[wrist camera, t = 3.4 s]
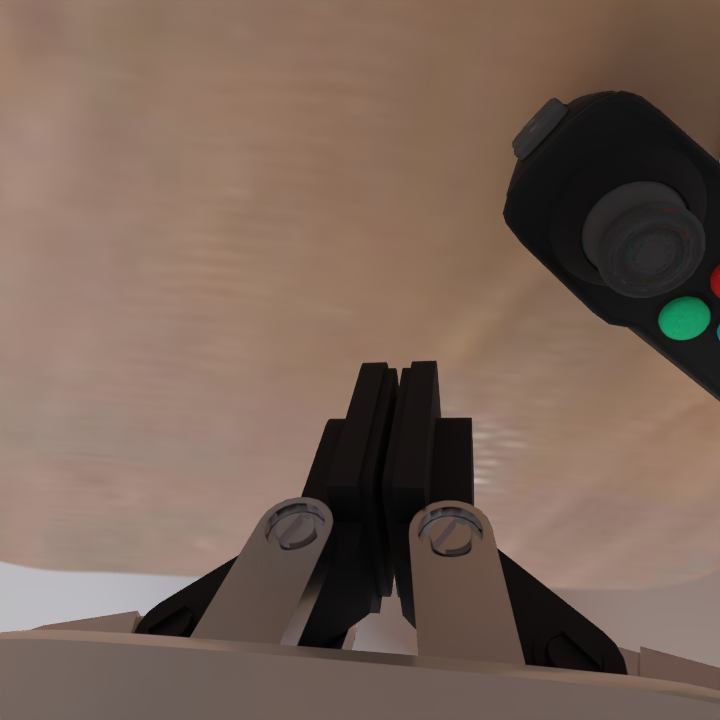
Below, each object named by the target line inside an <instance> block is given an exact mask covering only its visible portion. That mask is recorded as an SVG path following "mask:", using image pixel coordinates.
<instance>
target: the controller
mask: <svg viewBox="0 0 720 720" xmlns="http://www.w3.org/2000/svg"><path fill="white" fill-rule="evenodd" d="M512 146H513V148H514V155H515V156H516V157H517V158H518V161H517V163H516V166H515V169H514V172H513V175H512V178H511V182H510V185H509V188H508V192H507V200H506V203H505V207H504V211H503V215H504V219H505V222H506V224H507V225H508V226H509V228H510V229H511V230H512V232H513V233H514V234H515V235H516V237H517V238H518V239H519V241H520V242H521V243H522V244H523V245H524V246H525V247H526V248H527V249H528V250H529V251H530V252H531V253H532V254H533V255H534V256H535V257H536V258H537V259H538V260H539V261H540V262H541V263H542V264H543V265H544V266H545V267H546V268H547V269H548V270H550V271H551V272H552V273H553V274H554V275H555V276H556V277H557V278H558V279H559V280H560V281H561V282H562V283H563V284H564V285H565V286H566V287H567V288H568V289H569V290H570V291H571V292H572V293H573V294H574V295H575V296H576V297H578V298H579V299H580V300H581V301H582V302H583V303H584V304H585V305H586V306H587V307H588V308H589V309H590V310H591V311H592V312H593V313H594V314H596V315H597V316H599V317H600V318H601V319H603V320H604V321H606V322H607V323H608V324H611V325H617V326H623V327H628V328H629V329H630V330H631V331H633V332H634V333H635V334H636V335H638V336H639V337H640V338H641V339H643V340H644V341H645V342H646V343H648V344H649V345H650V346H651V347H653V348H654V349H655V350H656V351H658V352H659V353H660V354H661V355H663V356H664V357H665V358H666V359H668V360H669V361H670V362H671V363H673V364H674V365H675V366H676V367H678V368H679V369H680V370H681V371H683V372H684V373H685V374H686V375H688V376H689V377H690V378H691V379H692V380H694V381H695V382H696V383H697V384H699V385H700V386H701V387H702V388H704V389H705V390H706V391H707V392H709V393H710V394H711V395H712V396H714V397H715V398H716V399H717V400H719V401H720V163H719V162H718V161H716V160H715V159H714V158H713V157H712V156H711V155H710V154H709V153H707V152H706V151H705V150H704V149H703V148H702V147H701V146H699V145H698V144H697V143H696V142H695V141H694V140H693V139H692V138H690V137H689V136H688V135H687V134H686V133H685V132H684V131H683V130H681V129H680V128H679V127H678V126H677V125H676V124H675V123H673V122H672V121H671V120H670V119H669V118H668V117H667V116H666V115H664V114H663V113H662V112H661V111H660V110H659V109H657V108H656V107H655V106H653V105H652V104H651V103H649V102H648V101H647V100H645V99H644V98H643V97H641V96H638V95H636V94H633V93H629V92H625V91H619V92H614V91H606V92H599V93H595V94H590V95H585V96H582V97H579V98H577V99H575V100H573V101H572V102H570V103H569V104H567V105H566V104H563V103H562V102H561V101H560V100H558V99H557V98H553V99H551V100H549V101H548V102H547V103H546V104H545V105H544V106H543V107H542V108H541V109H540V110H539V111H538V113H537V114H536V115H535V116H534V117H533V118H532V119H531V120H530V121H529V122H528V123H527V125H526V126H525V127H524V128H523V129H522V131H521V132H520V133H519V134H518V135H517V137H516V138H515V139H514V141H513V143H512Z"/></svg>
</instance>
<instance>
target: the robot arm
mask: <svg viewBox="0 0 720 720" xmlns="http://www.w3.org/2000/svg"><path fill="white" fill-rule="evenodd" d="M394 575H395V581H396V588H397V594H398V597H400V599H401V607H402V613H403V616H404V617H405V618H406V619H407V620H408V622H409V623H411V625H412V626H413V627H414V628H415V629H416V632H417V646H418V656H415V655H414V656H413V655H403V654H391V653H378V652H366V651H354V650H352V648H353V645H354V642H355V638H356V632H357V626H356V623H357V622H359V621H360V620H361V619H363V618H364V617H366V616H367V615H368V614H369V613H380V608H381V601H382V596H384V597H390V596H391V594H392V587H393V580H394ZM0 720H720V668H718V667H714V666H710V665H707V664H703V663H699V662H695V661H692V660H688V659H685V658H681V657H677V656H674V655H670V654H666V653H662V652H659V651H655V650H652V649H648V648H644V647H640V652H639V653H638V652H634V651H630V650H627V649H623V648H620V647H617V645H616V644H615V643H614V642H613V641H612V640H611V639H610V638H609V637H608V636H607V635H606V634H605V633H604V632H603V631H602V630H600V629H599V628H598V627H596V626H595V625H594V624H593V623H591V622H590V621H589V620H588V619H586V618H585V617H584V616H583V615H581V614H580V613H579V612H578V611H576V610H575V609H574V608H572V607H571V606H570V605H568V604H567V603H566V602H565V601H564V600H562V599H561V598H560V597H558V596H557V595H556V594H555V593H553V592H552V591H551V590H550V589H548V588H547V587H546V586H545V585H543V584H542V583H541V582H539V581H538V580H537V579H536V578H534V577H533V576H532V575H531V574H529V573H528V572H527V571H526V570H524V569H523V568H522V567H520V566H519V565H518V564H517V563H515V562H514V561H513V560H512V559H510V558H509V557H508V556H506V555H505V554H504V553H503V552H501V551H500V550H499V549H498V548H497V546H496V542H495V538H494V534H493V529H492V526H491V524H490V522H489V520H488V518H487V517H486V516H485V515H484V514H483V512H482V511H481V510H479V509H478V508H476V507H474V469H473V439H472V418H441V410H440V396H439V383H438V370H437V362H436V361H413V362H412V364H411V368H403V369H402V374H401V380H400V385H399V383H398V375H397V370H396V368H388V364H387V362H379V363H363V364H362V366H361V369H360V372H359V376H358V379H357V382H356V386H355V389H354V392H353V396H352V399H351V402H350V406H349V409H348V412H347V416H346V419H329V420H328V422H327V424H326V426H325V429H324V432H323V435H322V438H321V441H320V444H319V447H318V449H317V452H316V455H315V458H314V461H313V464H312V467H311V470H310V473H309V476H308V479H307V482H306V484H305V487H304V490H303V493H302V496H301V497H297V498H293V499H288V500H285V501H283V502H281V503H278V504H276V505H275V506H274V507H272V508H271V509H270V510H268V511H267V512H266V513H265V514H264V516H263V517H262V518H261V519H260V521H259V523H258V524H257V526H256V528H255V529H254V531H253V533H252V534H251V536H250V538H249V539H248V541H247V543H246V544H245V546H244V548H243V549H242V551H241V553H240V554H239V555H238V556H237V557H235V558H233V559H232V560H230V561H228V562H227V563H225V564H223V565H222V566H220V567H218V568H217V569H215V570H213V571H212V572H210V573H209V574H207V575H205V576H204V577H202V578H200V579H199V580H197V581H195V582H194V583H192V584H190V585H189V586H187V587H185V588H184V589H182V590H180V591H179V592H177V593H176V594H174V595H172V596H171V597H169V598H167V599H166V600H164V601H162V602H161V603H159V604H158V605H157V606H155V607H154V608H153V609H151V610H150V611H149V612H148V613H147V614H146V615H145V616H140V614H139V612H138V611H133V612H127V613H121V614H114V615H108V616H102V617H95V618H89V619H82V620H76V621H70V622H63V623H57V624H51V625H45V626H41V627H38V628H34V629H32V630H25V631H12V632H1V633H0Z"/></svg>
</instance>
